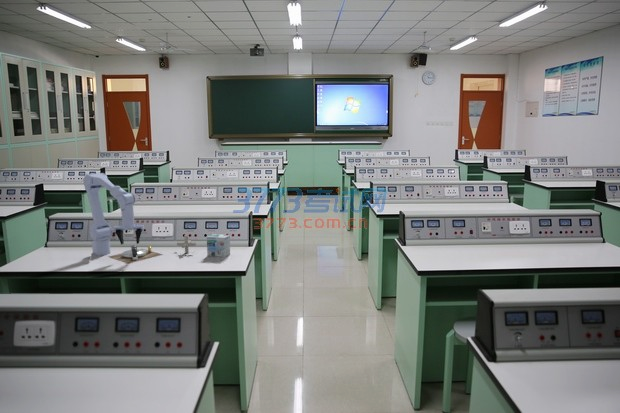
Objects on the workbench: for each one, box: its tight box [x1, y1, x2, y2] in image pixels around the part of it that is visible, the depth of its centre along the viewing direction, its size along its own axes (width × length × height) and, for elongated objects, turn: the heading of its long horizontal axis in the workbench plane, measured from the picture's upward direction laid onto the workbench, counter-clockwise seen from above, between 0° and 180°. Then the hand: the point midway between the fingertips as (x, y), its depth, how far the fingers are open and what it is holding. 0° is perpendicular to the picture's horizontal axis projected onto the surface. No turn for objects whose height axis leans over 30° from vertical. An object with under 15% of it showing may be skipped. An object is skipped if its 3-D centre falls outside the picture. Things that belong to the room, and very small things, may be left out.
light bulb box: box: [206, 233, 231, 258], centre depth 238 cm, size 11×7×11 cm, turn 76°
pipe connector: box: [176, 234, 197, 254], centre depth 242 cm, size 10×10×10 cm
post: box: [130, 244, 138, 251], centre depth 233 cm, size 3×3×3 cm
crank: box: [121, 247, 147, 260], centre depth 232 cm, size 16×12×6 cm
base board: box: [108, 248, 164, 265], centre depth 234 cm, size 20×20×1 cm
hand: (130, 243), depth 225 cm, fingers open, 7 cm apart
